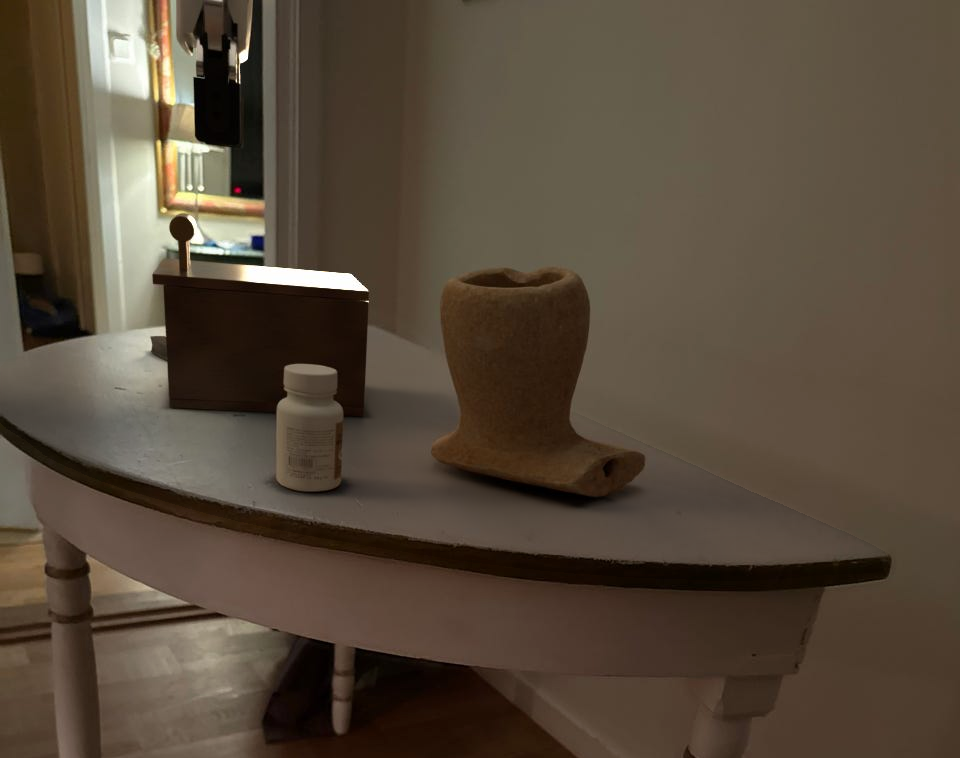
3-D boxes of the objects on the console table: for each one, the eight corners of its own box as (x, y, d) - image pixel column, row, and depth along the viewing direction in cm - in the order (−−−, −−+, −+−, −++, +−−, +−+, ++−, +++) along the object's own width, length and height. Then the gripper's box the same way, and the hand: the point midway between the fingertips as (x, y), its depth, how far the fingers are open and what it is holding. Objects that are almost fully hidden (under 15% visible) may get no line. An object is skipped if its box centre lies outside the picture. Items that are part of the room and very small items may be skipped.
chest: (169, 407, 77) (163, 285, 73) (177, 375, 89) (172, 268, 85) (363, 416, 82) (368, 301, 77) (347, 384, 93) (351, 283, 89)
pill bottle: (352, 489, 62) (357, 374, 59) (293, 496, 60) (294, 376, 56) (323, 471, 65) (326, 361, 62) (265, 476, 63) (265, 362, 60)
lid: (152, 284, 73) (148, 216, 71) (163, 267, 84) (160, 208, 82) (368, 301, 77) (371, 237, 75) (351, 282, 89) (352, 227, 87)
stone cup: (394, 473, 67) (407, 253, 60) (475, 446, 76) (494, 253, 70) (580, 524, 61) (617, 285, 54) (644, 487, 70) (682, 280, 63)
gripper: (170, -111, 70) (178, 141, 77) (145, -187, 55) (158, 135, 62) (271, -92, 71) (269, 153, 79) (273, -161, 56) (270, 150, 64)
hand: (220, 145), depth 71 cm, fingers open, 9 cm apart
